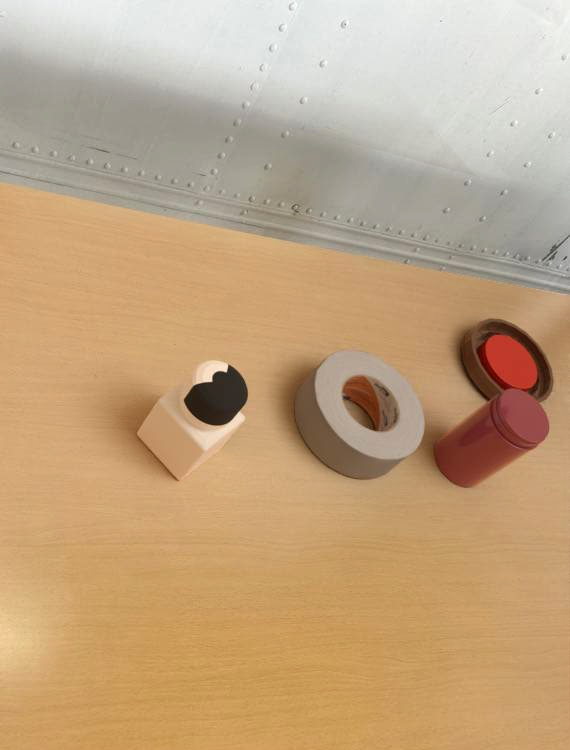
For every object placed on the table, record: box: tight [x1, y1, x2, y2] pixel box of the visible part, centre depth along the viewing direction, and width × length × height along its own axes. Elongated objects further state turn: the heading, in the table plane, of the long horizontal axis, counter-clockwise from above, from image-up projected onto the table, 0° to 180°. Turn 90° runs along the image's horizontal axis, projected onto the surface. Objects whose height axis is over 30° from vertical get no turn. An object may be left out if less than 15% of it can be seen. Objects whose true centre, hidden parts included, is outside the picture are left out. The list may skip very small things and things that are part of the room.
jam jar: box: [433, 389, 550, 489], centre depth 97 cm, size 8×8×12 cm
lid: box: [477, 335, 537, 392], centre depth 111 cm, size 9×9×2 cm
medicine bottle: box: [136, 359, 249, 481], centre depth 81 cm, size 7×7×12 cm
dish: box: [461, 317, 555, 405], centre depth 111 cm, size 14×14×3 cm
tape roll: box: [293, 349, 426, 480], centre depth 95 cm, size 15×15×5 cm
